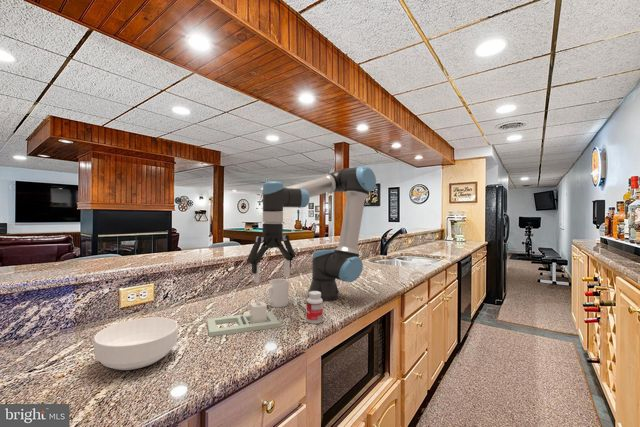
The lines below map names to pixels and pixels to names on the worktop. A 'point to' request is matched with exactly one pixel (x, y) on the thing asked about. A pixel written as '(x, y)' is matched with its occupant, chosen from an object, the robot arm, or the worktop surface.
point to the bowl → (135, 342)
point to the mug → (278, 292)
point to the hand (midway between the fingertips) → (272, 279)
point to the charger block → (258, 312)
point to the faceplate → (242, 323)
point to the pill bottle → (314, 307)
